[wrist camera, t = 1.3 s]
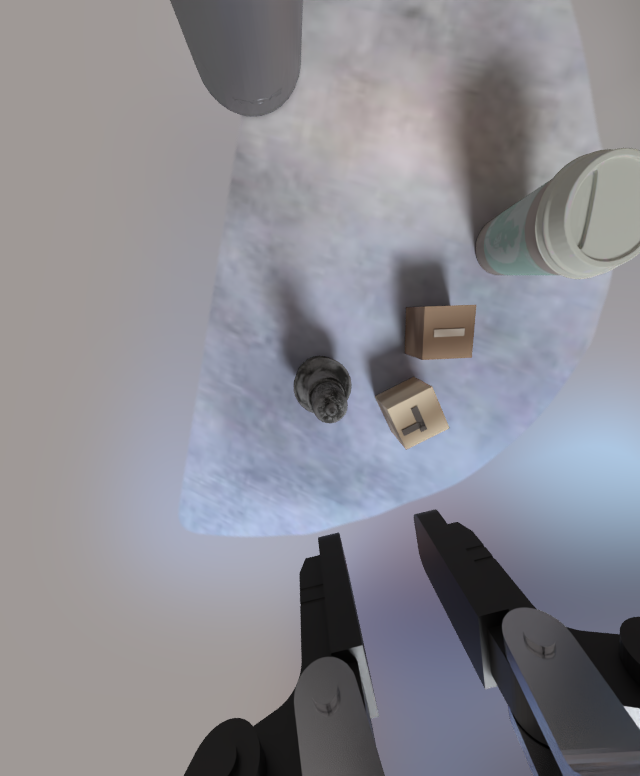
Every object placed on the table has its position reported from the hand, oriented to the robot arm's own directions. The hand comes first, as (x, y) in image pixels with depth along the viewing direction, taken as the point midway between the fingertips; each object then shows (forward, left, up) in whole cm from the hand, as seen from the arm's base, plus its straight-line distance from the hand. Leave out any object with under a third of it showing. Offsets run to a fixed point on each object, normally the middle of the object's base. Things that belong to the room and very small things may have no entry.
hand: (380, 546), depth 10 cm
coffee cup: (-10, +22, -25) cm, 35 cm away
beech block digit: (+5, +9, -25) cm, 27 cm away
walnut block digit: (-3, +13, -25) cm, 29 cm away
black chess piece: (0, 0, -25) cm, 25 cm away
